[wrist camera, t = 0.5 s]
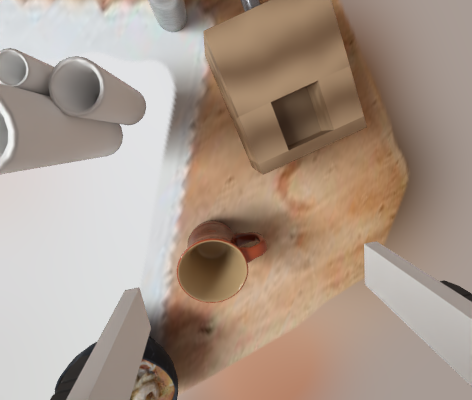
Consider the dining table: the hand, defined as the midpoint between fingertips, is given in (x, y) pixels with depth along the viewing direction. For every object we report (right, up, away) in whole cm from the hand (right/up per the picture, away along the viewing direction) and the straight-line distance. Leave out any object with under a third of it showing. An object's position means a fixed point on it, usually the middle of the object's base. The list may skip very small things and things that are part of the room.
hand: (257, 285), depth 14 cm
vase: (-19, +16, +21) cm, 33 cm away
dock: (+5, +20, +22) cm, 30 cm away
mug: (-4, -1, +27) cm, 27 cm away
